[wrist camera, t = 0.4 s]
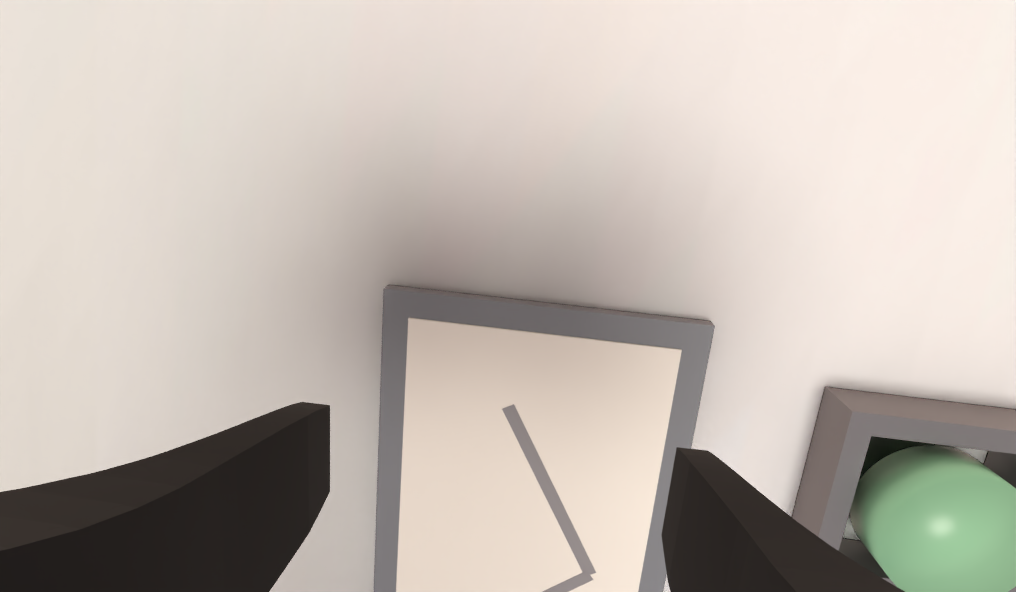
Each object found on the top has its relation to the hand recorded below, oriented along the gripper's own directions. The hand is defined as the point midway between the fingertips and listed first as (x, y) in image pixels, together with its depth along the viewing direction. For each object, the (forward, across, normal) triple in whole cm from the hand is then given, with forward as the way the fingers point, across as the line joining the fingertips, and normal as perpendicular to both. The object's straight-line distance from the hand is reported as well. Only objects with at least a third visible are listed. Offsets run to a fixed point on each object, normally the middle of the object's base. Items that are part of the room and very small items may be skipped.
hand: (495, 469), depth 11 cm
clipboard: (+10, -1, +7) cm, 12 cm away
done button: (+9, -15, +5) cm, 18 cm away
